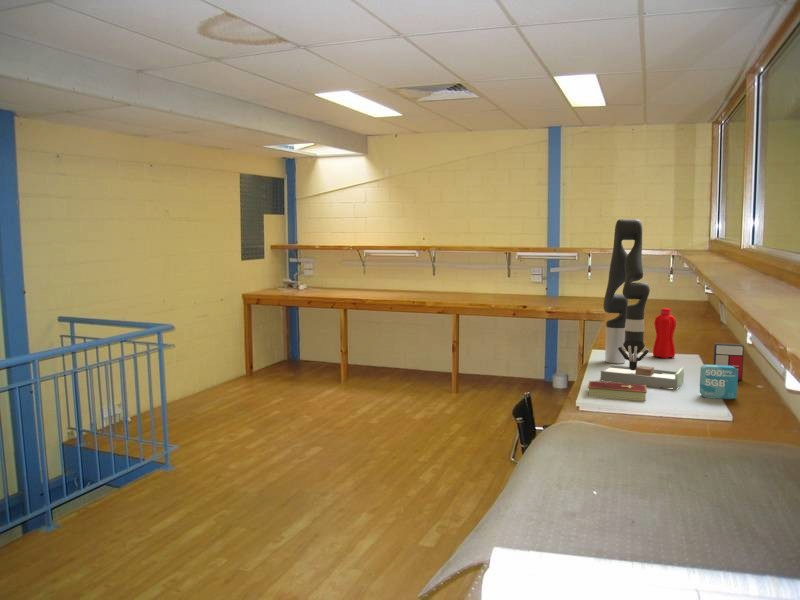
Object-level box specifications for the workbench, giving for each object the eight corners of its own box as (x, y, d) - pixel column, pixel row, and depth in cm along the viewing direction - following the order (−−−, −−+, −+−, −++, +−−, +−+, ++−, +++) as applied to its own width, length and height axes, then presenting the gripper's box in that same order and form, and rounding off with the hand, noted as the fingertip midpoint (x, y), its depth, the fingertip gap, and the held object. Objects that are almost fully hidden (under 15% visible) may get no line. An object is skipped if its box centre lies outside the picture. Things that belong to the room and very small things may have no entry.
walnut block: (638, 372, 266) (638, 365, 266) (653, 374, 263) (653, 367, 262) (635, 374, 261) (635, 367, 261) (650, 376, 258) (650, 369, 257)
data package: (701, 397, 235) (703, 366, 234) (699, 394, 240) (700, 364, 238) (736, 399, 232) (738, 368, 231) (733, 396, 237) (735, 365, 236)
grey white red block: (713, 378, 268) (715, 344, 266) (712, 376, 272) (714, 342, 270) (742, 380, 264) (744, 345, 263) (740, 378, 268) (742, 344, 267)
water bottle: (662, 354, 326) (664, 306, 323) (677, 358, 315) (679, 309, 313) (647, 355, 323) (649, 307, 321) (662, 359, 312) (664, 309, 310)
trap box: (610, 373, 278) (611, 360, 278) (683, 381, 262) (684, 367, 262) (600, 380, 264) (600, 366, 263) (676, 389, 248) (677, 374, 247)
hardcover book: (589, 390, 248) (589, 380, 248) (645, 395, 241) (646, 384, 241) (587, 397, 237) (587, 386, 237) (646, 402, 230) (646, 391, 229)
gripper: (652, 329, 262) (651, 370, 264) (620, 327, 269) (619, 366, 271) (649, 332, 256) (647, 373, 258) (616, 329, 263) (614, 369, 265)
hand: (632, 370), depth 264 cm, fingers closed
